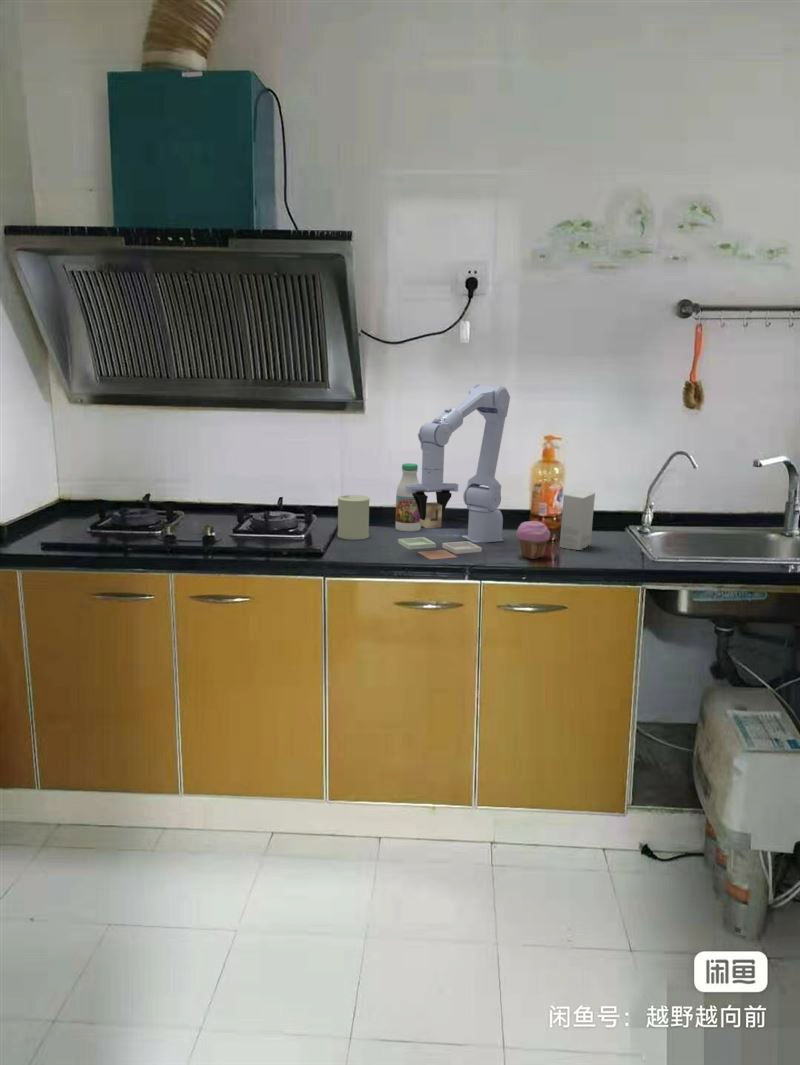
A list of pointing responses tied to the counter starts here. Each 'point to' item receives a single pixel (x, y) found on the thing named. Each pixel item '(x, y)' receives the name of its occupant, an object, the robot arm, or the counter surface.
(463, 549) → the light grey tray
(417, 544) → the sage green tray
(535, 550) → the cupcake
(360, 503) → the can
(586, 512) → the skincare box
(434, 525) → the brown block
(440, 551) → the terracotta pad
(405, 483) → the milk bottle
